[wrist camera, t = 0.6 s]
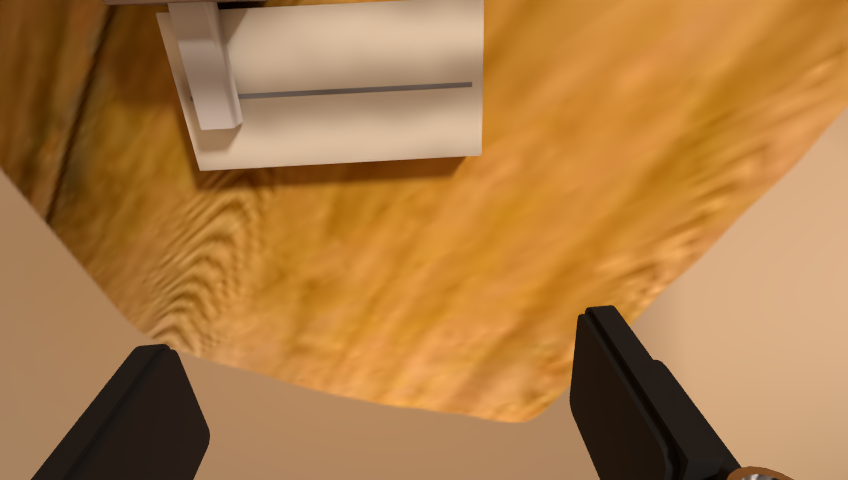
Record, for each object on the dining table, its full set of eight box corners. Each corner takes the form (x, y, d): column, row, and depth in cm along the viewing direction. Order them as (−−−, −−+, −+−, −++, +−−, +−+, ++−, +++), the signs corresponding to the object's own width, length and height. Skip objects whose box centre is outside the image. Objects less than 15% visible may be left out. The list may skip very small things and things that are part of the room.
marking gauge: (161, -48, 29) (82, -67, 21) (257, -53, 29) (209, -73, 22) (204, 113, 33) (149, 141, 26) (286, 108, 33) (254, 136, 26)
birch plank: (177, 12, 30) (155, 12, 27) (476, -3, 30) (484, -4, 28) (215, 158, 35) (199, 171, 32) (475, 144, 35) (481, 155, 32)
